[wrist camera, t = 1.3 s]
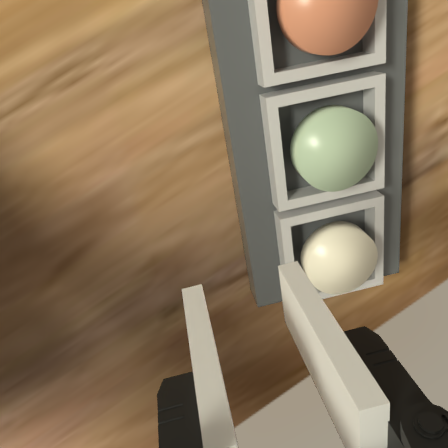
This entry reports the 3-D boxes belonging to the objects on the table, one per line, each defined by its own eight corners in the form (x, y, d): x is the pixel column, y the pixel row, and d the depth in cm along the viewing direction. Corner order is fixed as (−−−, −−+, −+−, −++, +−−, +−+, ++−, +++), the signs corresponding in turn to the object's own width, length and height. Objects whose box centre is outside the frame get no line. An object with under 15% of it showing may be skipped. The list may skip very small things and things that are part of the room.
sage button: (293, 191, 32) (301, 199, 30) (286, 113, 29) (294, 118, 27) (366, 174, 32) (378, 182, 31) (365, 97, 29) (378, 100, 28)
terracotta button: (281, 61, 27) (289, 63, 26) (270, -43, 25) (279, -48, 23) (365, 45, 28) (378, 45, 26) (364, -60, 25) (379, -66, 24)
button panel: (250, 289, 41) (262, 319, 36) (192, -57, 28) (200, -72, 23) (382, 256, 42) (409, 282, 37) (386, -90, 29) (428, -111, 24)
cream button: (303, 289, 36) (310, 301, 34) (297, 230, 33) (305, 240, 32) (367, 273, 36) (377, 284, 35) (366, 213, 34) (378, 223, 32)
